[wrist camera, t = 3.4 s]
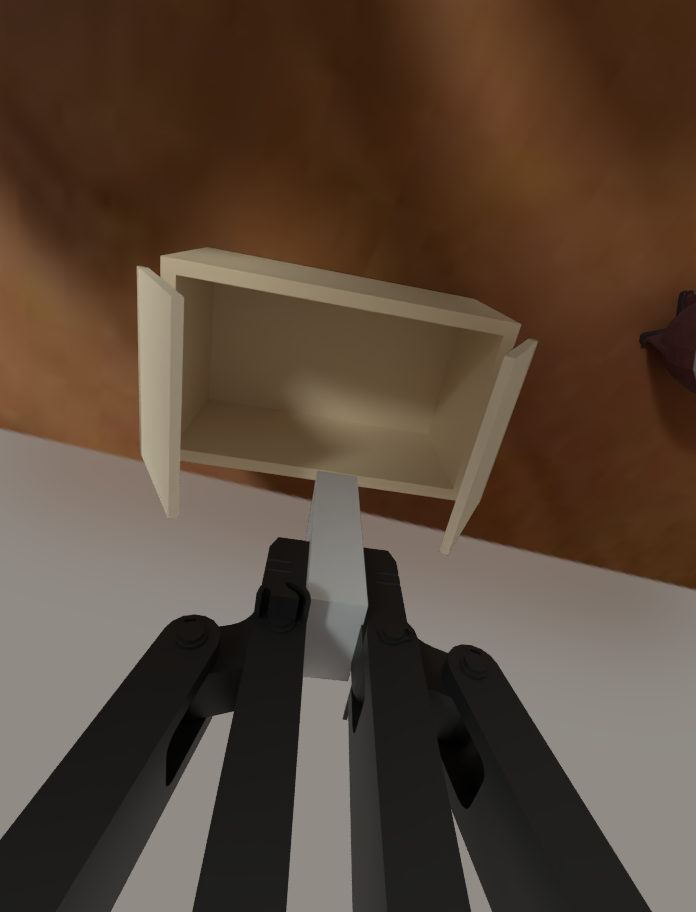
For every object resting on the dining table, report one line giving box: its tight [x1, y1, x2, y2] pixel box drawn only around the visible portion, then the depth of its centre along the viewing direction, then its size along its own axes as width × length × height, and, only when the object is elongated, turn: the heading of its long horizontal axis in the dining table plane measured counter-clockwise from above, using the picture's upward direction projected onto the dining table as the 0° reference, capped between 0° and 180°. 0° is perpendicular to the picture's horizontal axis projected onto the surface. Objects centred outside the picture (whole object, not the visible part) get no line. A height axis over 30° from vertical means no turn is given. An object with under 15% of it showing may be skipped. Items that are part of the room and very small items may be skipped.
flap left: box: [137, 266, 184, 519], centre depth 24 cm, size 1×11×7 cm, turn 171°
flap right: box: [439, 338, 538, 556], centre depth 25 cm, size 1×11×7 cm
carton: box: [160, 247, 521, 501], centre depth 32 cm, size 20×12×10 cm, turn 80°
